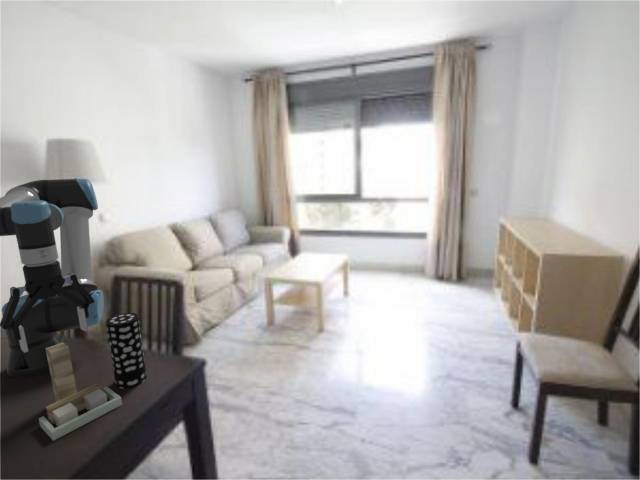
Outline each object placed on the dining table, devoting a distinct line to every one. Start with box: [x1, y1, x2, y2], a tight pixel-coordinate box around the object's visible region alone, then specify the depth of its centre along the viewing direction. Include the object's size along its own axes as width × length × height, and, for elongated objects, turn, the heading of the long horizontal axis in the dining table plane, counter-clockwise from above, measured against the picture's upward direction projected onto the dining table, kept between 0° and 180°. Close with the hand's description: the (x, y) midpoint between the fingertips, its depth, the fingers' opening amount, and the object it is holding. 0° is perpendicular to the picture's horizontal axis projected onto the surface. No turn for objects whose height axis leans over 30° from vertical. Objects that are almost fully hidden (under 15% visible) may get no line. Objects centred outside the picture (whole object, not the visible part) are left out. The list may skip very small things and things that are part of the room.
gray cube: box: [83, 389, 108, 412], centre depth 98 cm, size 4×4×4 cm
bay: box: [38, 385, 123, 442], centre depth 95 cm, size 8×16×2 cm, turn 143°
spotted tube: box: [105, 312, 148, 389], centre depth 108 cm, size 8×8×20 cm
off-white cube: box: [52, 403, 79, 428], centre depth 92 cm, size 4×4×4 cm
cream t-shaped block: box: [45, 342, 103, 426], centre depth 98 cm, size 10×12×16 cm
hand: (56, 339), depth 98 cm, fingers open, 13 cm apart
